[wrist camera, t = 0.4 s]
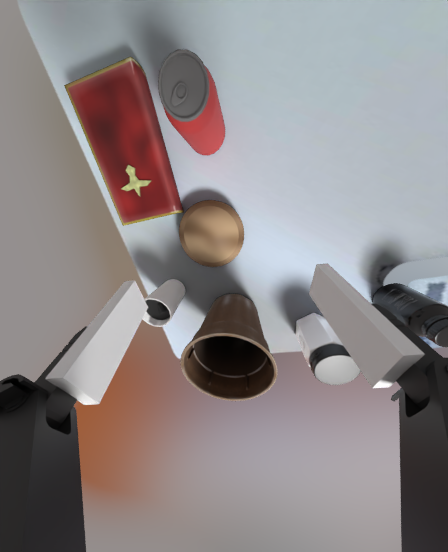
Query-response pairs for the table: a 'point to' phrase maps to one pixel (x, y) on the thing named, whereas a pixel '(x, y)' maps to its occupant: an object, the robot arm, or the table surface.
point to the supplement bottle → (416, 311)
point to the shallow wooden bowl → (211, 233)
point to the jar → (325, 351)
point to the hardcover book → (126, 140)
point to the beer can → (192, 101)
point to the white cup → (163, 302)
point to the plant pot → (230, 352)
